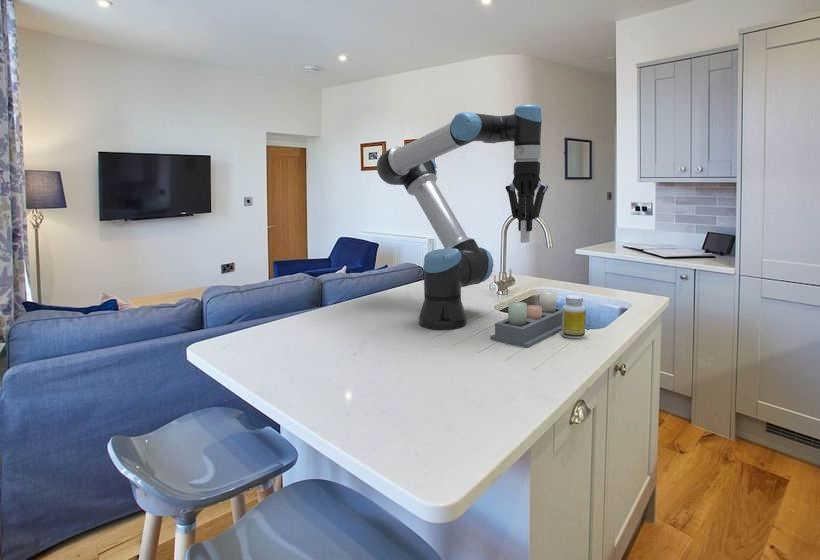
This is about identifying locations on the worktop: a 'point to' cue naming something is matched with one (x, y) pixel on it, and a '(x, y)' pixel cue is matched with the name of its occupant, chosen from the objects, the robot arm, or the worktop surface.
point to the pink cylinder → (534, 312)
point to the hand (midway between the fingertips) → (524, 242)
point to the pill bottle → (573, 317)
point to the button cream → (547, 301)
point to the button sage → (517, 313)
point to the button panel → (529, 330)
